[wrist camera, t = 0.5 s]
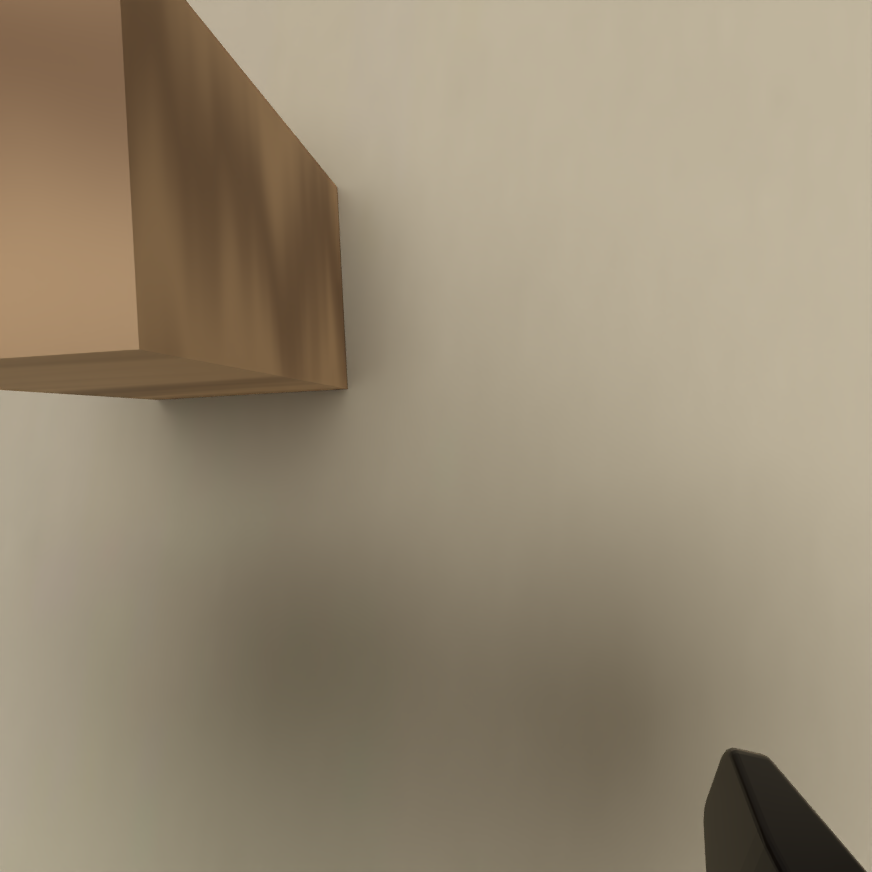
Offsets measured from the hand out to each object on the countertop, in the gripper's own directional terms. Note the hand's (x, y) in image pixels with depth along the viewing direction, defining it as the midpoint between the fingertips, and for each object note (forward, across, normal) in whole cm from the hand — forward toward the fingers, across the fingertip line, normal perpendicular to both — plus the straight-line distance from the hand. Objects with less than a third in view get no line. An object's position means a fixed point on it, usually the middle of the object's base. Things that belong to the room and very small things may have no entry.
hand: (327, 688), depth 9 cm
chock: (+14, +7, -1) cm, 16 cm away
